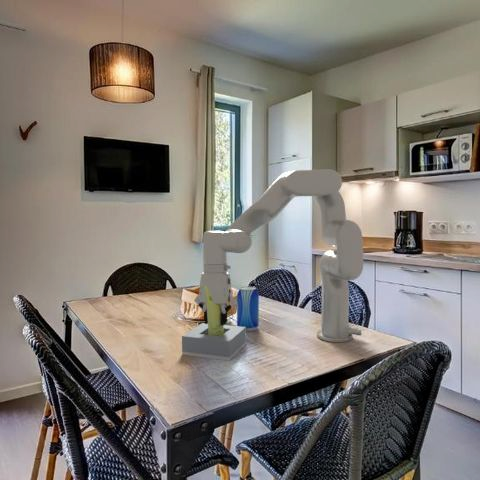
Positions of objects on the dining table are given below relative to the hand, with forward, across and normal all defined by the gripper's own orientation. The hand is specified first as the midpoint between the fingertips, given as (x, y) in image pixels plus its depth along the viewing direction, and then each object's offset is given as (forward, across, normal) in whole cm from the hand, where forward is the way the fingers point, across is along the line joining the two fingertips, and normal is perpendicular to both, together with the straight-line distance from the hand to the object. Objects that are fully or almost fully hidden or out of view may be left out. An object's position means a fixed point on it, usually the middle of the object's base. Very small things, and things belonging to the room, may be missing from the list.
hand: (215, 323), depth 129 cm
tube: (+7, 0, 0) cm, 7 cm away
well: (+9, 0, 0) cm, 9 cm away
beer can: (+9, -3, -26) cm, 28 cm away
